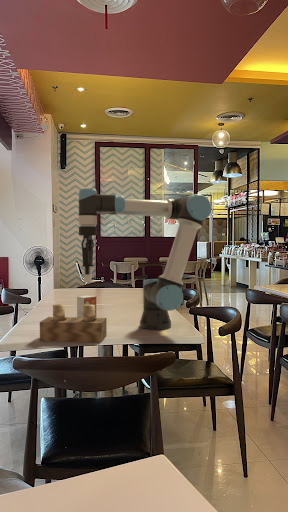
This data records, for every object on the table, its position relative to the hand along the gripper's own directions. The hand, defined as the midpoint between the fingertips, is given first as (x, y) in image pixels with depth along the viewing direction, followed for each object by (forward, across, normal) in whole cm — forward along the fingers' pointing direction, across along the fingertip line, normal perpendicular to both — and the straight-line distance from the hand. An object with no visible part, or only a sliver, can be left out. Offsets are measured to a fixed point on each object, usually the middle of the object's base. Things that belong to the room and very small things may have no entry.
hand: (87, 282), depth 170 cm
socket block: (+24, 0, -6) cm, 25 cm away
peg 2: (+18, 0, 0) cm, 18 cm away
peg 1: (+18, 0, -13) cm, 22 cm away
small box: (+24, -36, -9) cm, 44 cm away
